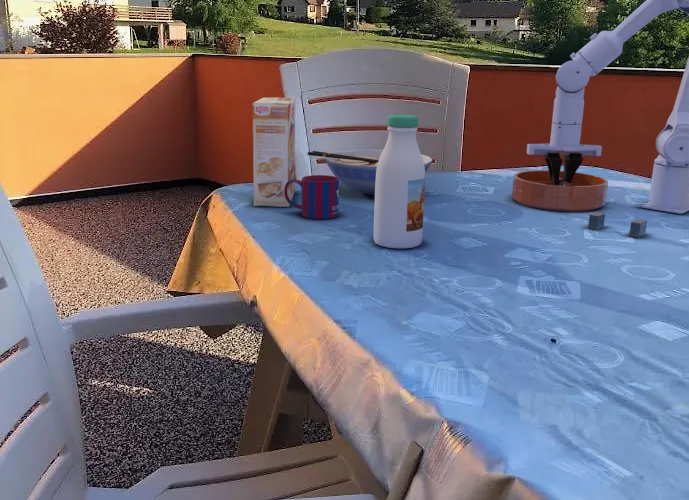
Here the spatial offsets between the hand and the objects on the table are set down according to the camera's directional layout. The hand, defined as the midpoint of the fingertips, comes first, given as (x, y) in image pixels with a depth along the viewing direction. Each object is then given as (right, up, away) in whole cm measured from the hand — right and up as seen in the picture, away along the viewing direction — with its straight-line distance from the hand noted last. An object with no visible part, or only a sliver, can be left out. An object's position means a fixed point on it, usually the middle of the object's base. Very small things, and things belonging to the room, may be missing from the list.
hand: (559, 190), depth 145 cm
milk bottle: (-36, -11, -33) cm, 50 cm away
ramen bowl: (-37, 0, +6) cm, 38 cm away
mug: (-50, -6, -15) cm, 53 cm away
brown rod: (0, +1, 0) cm, 1 cm away
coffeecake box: (-58, -2, -3) cm, 58 cm away
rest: (+3, -9, -23) cm, 25 cm away
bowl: (-1, -2, -1) cm, 3 cm away
